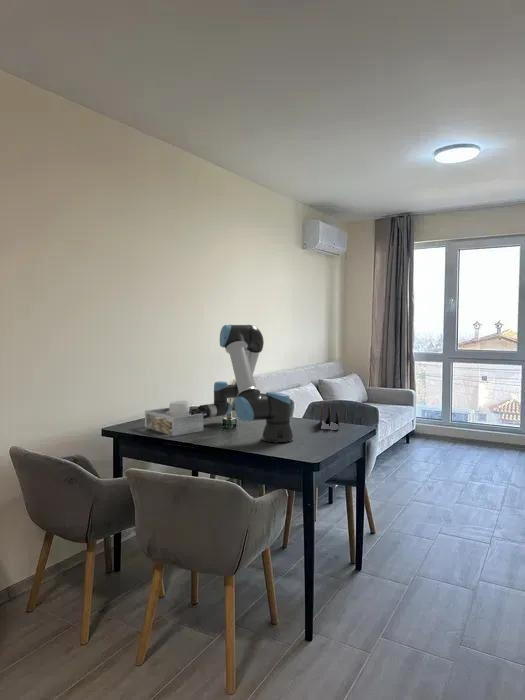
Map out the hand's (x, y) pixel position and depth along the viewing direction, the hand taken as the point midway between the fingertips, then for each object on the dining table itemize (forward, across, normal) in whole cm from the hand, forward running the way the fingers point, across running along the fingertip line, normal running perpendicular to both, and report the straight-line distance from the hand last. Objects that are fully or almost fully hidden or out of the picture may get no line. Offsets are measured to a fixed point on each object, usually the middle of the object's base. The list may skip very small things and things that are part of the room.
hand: (173, 416), depth 263 cm
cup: (-4, 0, -8) cm, 9 cm away
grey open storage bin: (0, 0, -8) cm, 8 cm away
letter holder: (-72, -46, -8) cm, 86 cm away
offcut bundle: (+6, 0, -7) cm, 9 cm away
